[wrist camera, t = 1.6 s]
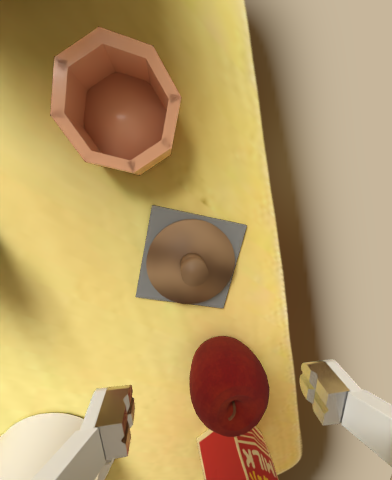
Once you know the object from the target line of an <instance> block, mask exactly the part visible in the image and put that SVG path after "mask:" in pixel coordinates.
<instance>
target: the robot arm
mask: <svg viewBox="0 0 392 480" xmlns="http://www.w3.org/2000/svg"><path fill="white" fill-rule="evenodd" d="M301 370H302V372H303V374H302V375H301V376H300V387H301V390H302V392H303V394H304V396H305V398H306V399H307V400H308V401H309V402H311V403H312V404H313V411H314V412H315V414H316V416H317V417H318V419H319V421H320V422H321V424H322V425H332V424H340V423H341V425H342V426H343V427H345V428H346V429H347V430H348V431H350V432H351V433H352V434H353V435H354V436H355V437H357V438H358V439H359V440H360V441H361V442H363V443H364V444H365V445H366V446H368V447H369V448H370V449H371V450H372V451H373V452H375V453H376V454H377V455H378V456H379V457H381V458H382V459H383V460H384V461H385V462H387V463H388V464H389V465H390V466H391V467H392V404H390V403H388V402H386V401H385V400H383V399H380V398H379V397H378V396H376V395H374V394H372V393H371V392H369V391H367V390H362V389H361V388H360V387H359V386H358V385H357V384H356V383H355V382H354V380H353V379H352V378H351V377H350V376H349V375H348V374H347V373H346V372H345V371H344V369H343V368H342V367H341V366H340V365H339V364H338V363H337V362H336V361H335V360H333V359H330V360H322V361H313V362H306V363H303V364H302V365H301ZM132 391H133V390H132V385H125V386H115V387H106V388H97V389H96V390H95V391H94V393H93V396H92V398H91V401H90V404H89V407H88V409H87V412H86V415H85V417H84V419H83V418H80V417H77V416H74V415H70V414H64V413H45V414H39V415H34V416H31V417H28V418H25V419H23V420H21V421H19V422H17V423H16V424H14V425H13V426H11V427H10V428H9V429H8V430H7V431H6V432H5V433H4V434H3V435H1V436H0V480H105V478H106V476H107V474H108V472H109V470H110V468H111V466H112V463H113V461H114V459H115V458H121V457H126V456H128V451H129V445H130V439H131V434H130V428H131V426H132V425H133V420H134V410H135V406H134V398H133V397H132ZM390 480H392V476H391V479H390Z"/></svg>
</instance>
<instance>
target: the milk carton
mask: <svg viewBox="0 0 392 480" xmlns="http://www.w3.org/2000/svg"><path fill="white" fill-rule="evenodd" d="M196 439H197V444H198V449H199V454H200V460H201V465H202V470H203V475H204V480H279V479H278V476H277V473H276V470H275V467H274V464H273V461H272V458H271V456H270V453H269V450H268V448H267V445H266V443H265V440H264V437H263V435H262V433H261V432H260V430H259V429H258V428H257V427H256V426H255V427H254V428H253V429H252V430H250V431H249V432H247V433H245V434H243V435H241V436H236V437H226V436H223V435H220V434H218V433H215V432H213V431H212V430H210V429H208V430H207V431H205V432H204V433H203V434H201V435H200V436H199V437H197V438H196Z"/></svg>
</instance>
